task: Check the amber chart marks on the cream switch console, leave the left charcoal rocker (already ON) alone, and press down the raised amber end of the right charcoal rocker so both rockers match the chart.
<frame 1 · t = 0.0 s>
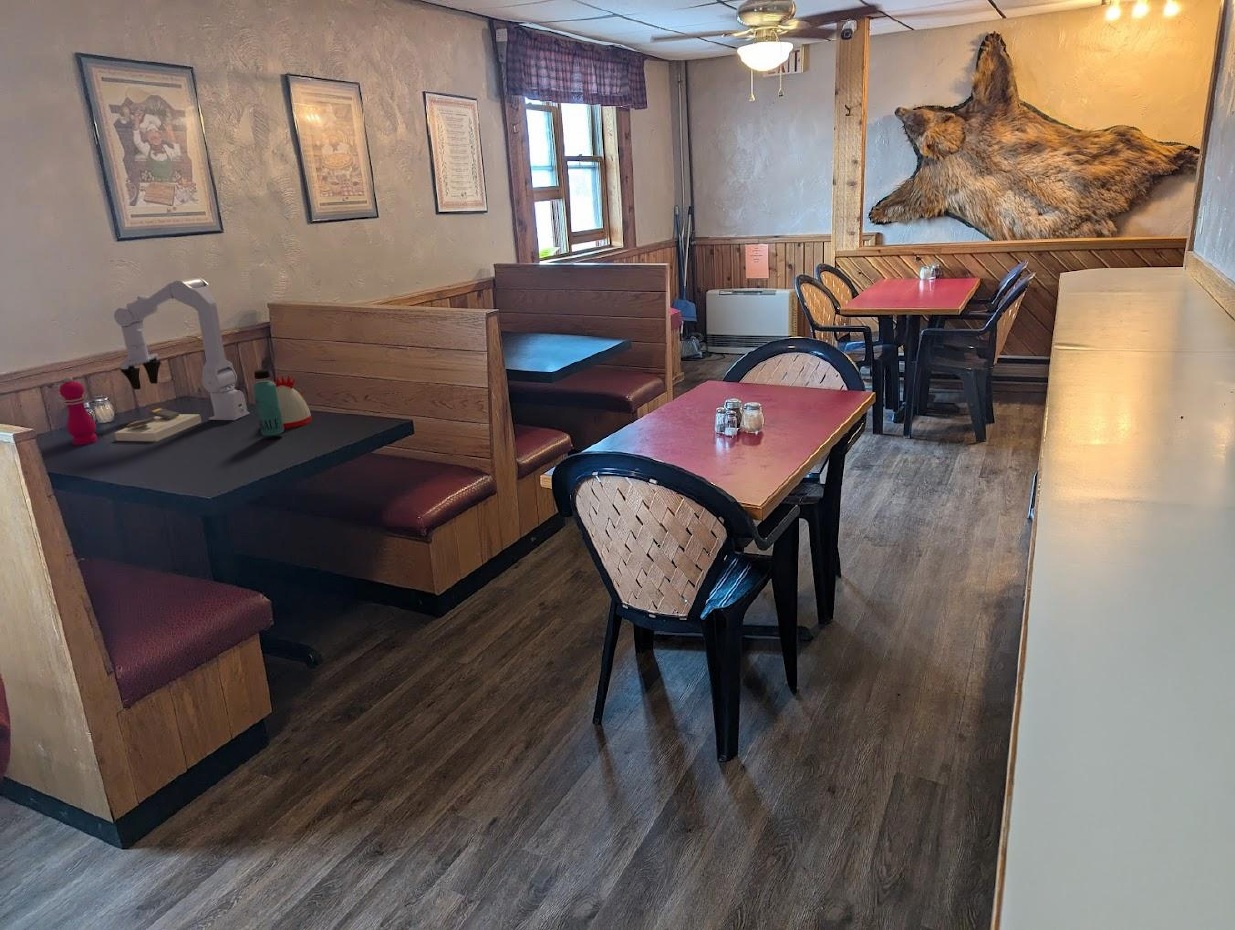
hand: (145, 386, 276), 10 cm above the table, fingers open, 7 cm apart
pepper mill: (85, 442, 254), on the table
beverage bottle: (274, 437, 249), on the table
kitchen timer: (288, 423, 264), on the table
rocker right: (164, 413, 265), point 4 cm above the table, hinge at -12.0°
switch console: (160, 431, 262), on the table
rocker left: (140, 422, 256), point 4 cm above the table, hinge at 12.0°
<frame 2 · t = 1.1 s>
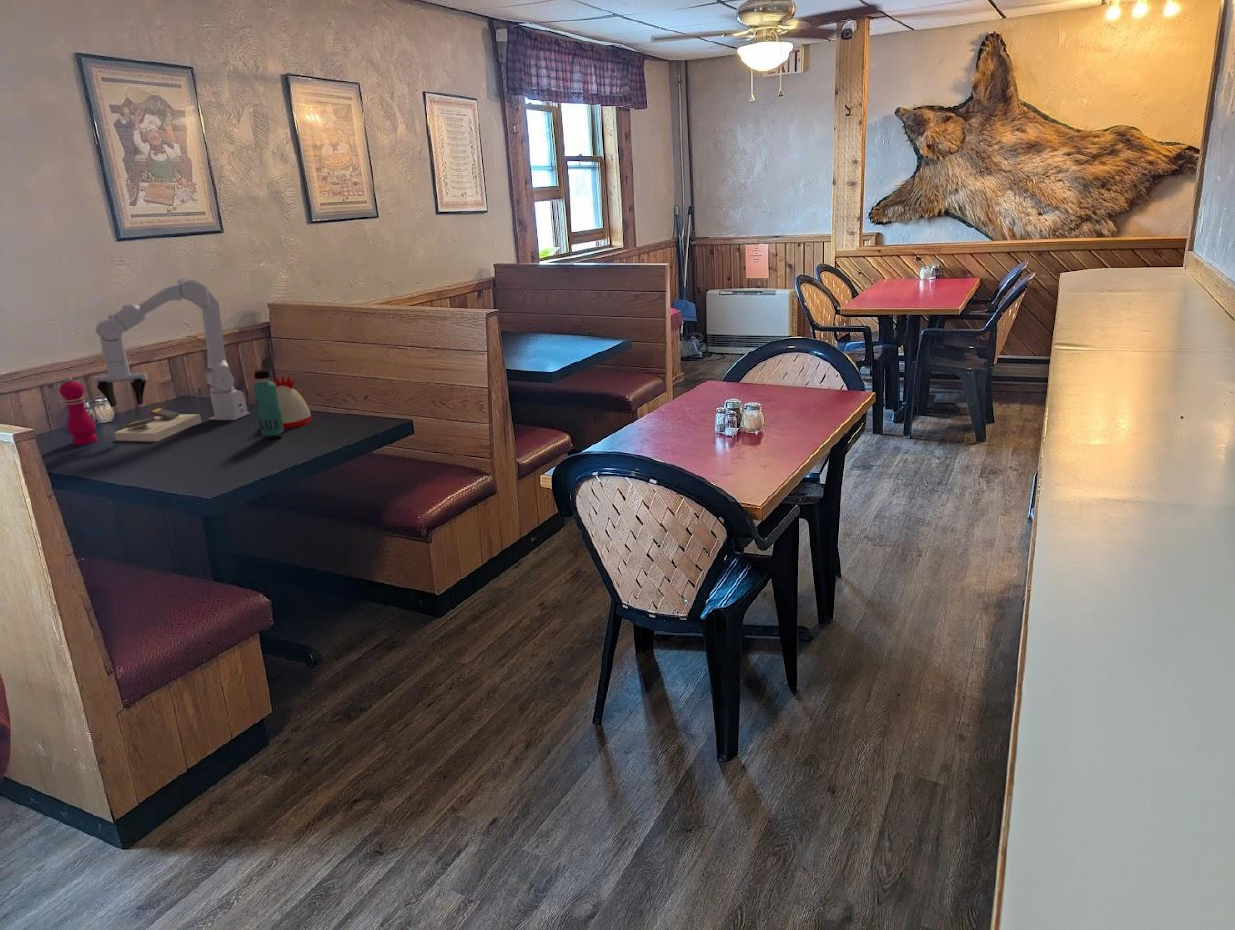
hand: (127, 405, 255), 9 cm above the table, fingers open, 7 cm apart
nothing on the table moved.
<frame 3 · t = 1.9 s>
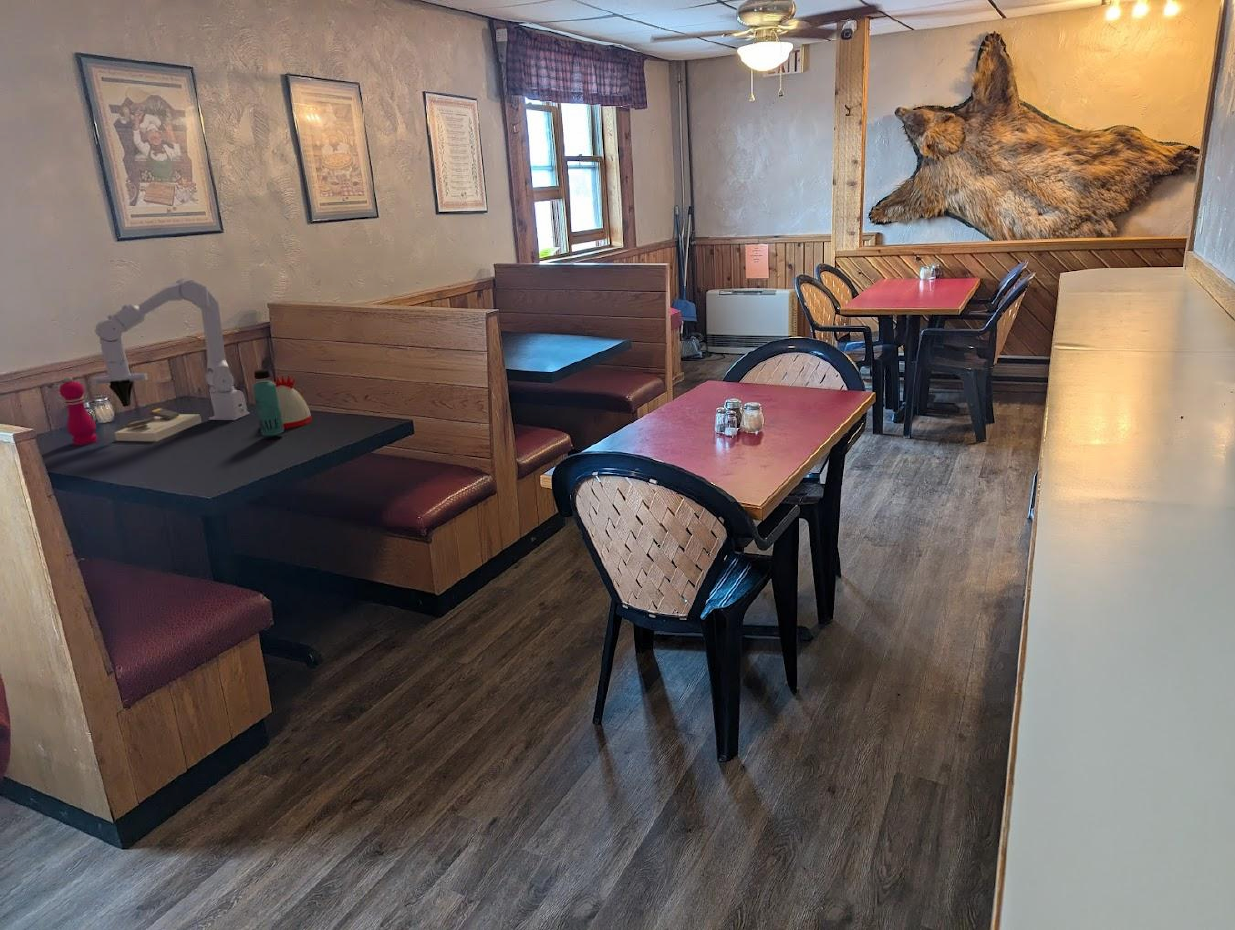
hand: (126, 405, 255), 9 cm above the table, fingers closed
nothing on the table moved.
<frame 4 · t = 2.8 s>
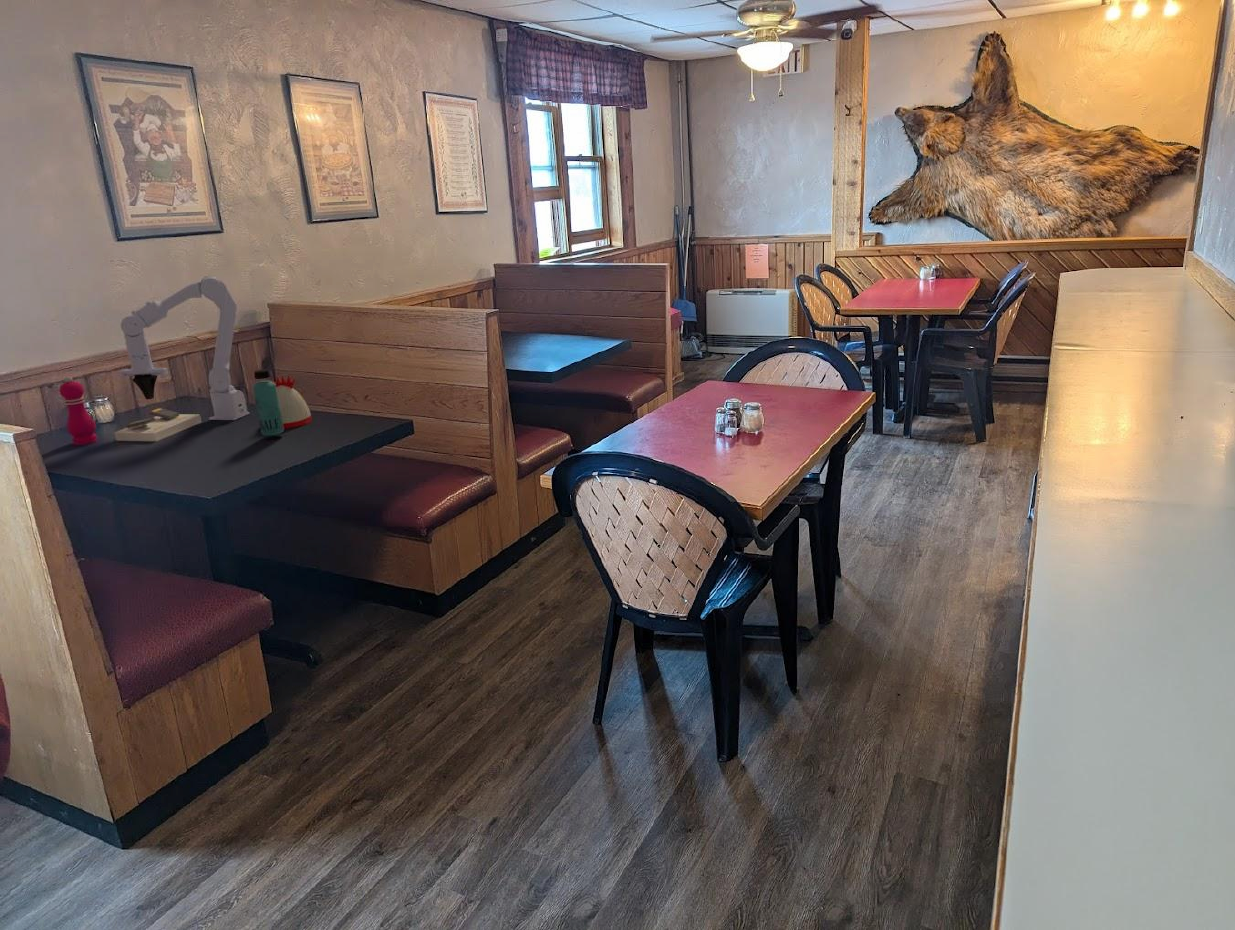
hand: (150, 398, 263), 9 cm above the table, fingers closed
nothing on the table moved.
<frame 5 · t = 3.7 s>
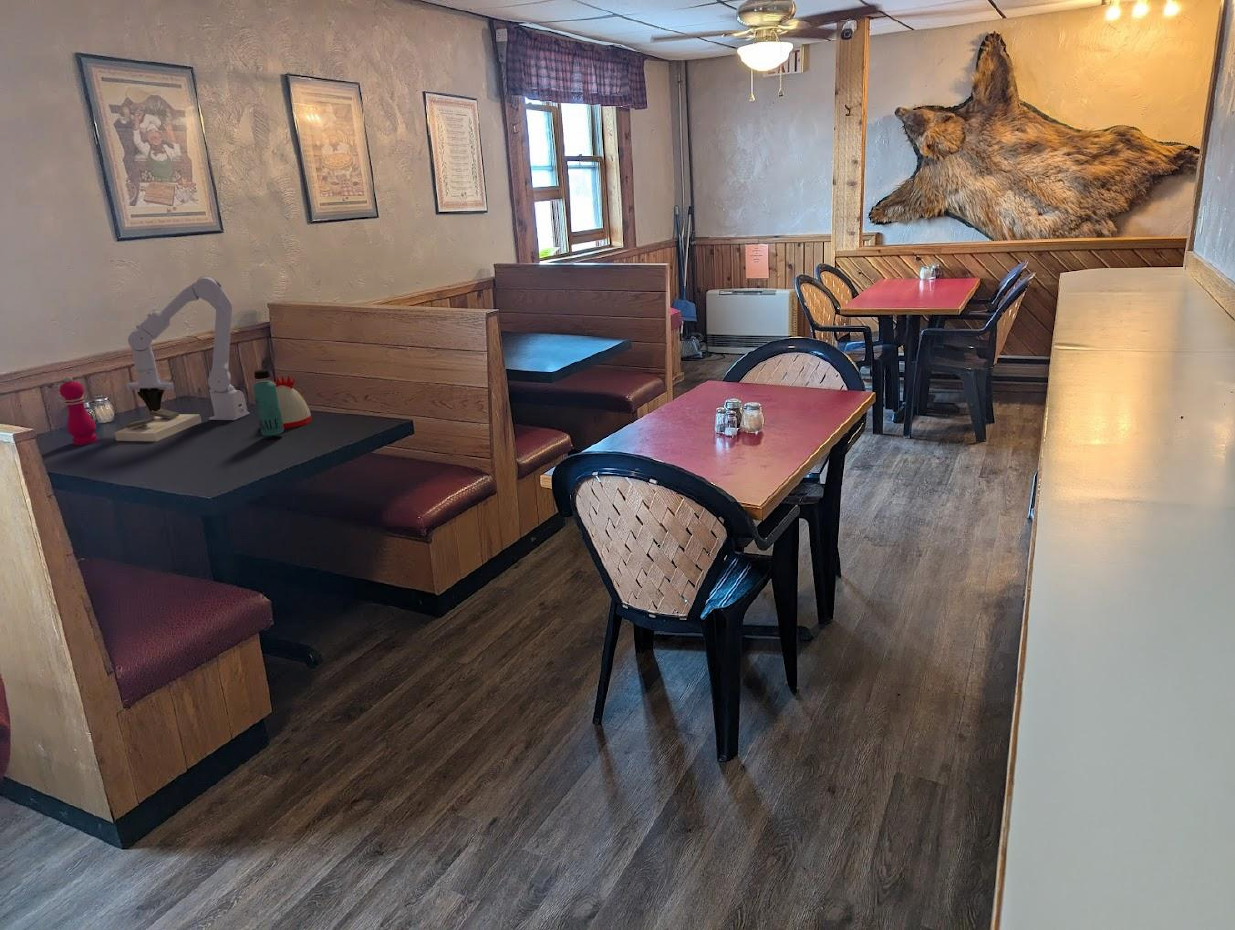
hand: (155, 412, 266), 5 cm above the table, fingers closed, pressing on rocker right
rocker right: (164, 413, 265), point 4 cm above the table, hinge at -11.7°, touching gripper
everything else where it was.
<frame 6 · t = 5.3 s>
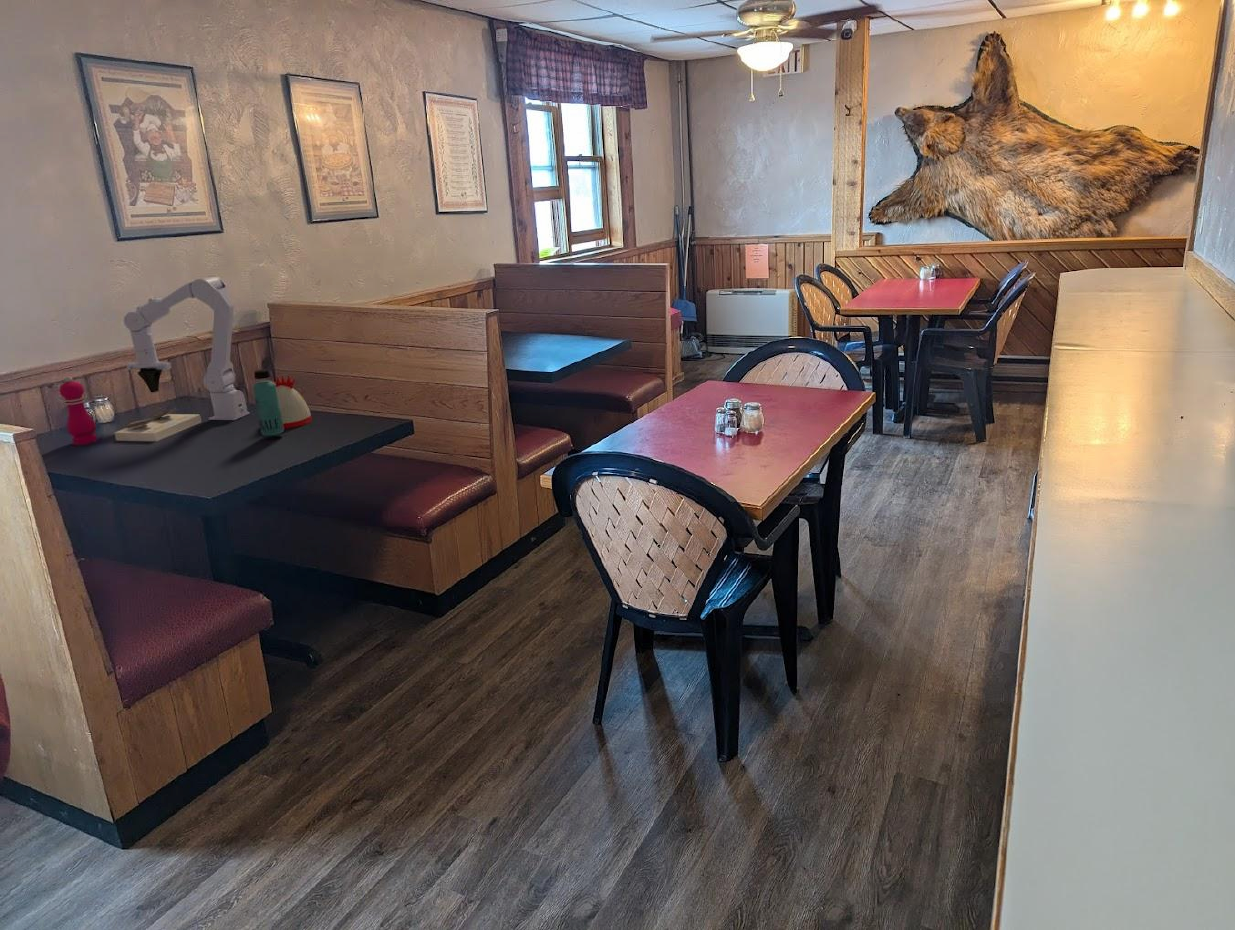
hand: (154, 391, 271), 9 cm above the table, fingers closed
rocker right: (164, 413, 265), point 4 cm above the table, hinge at 18.8°, touching switch console
everything else where it was.
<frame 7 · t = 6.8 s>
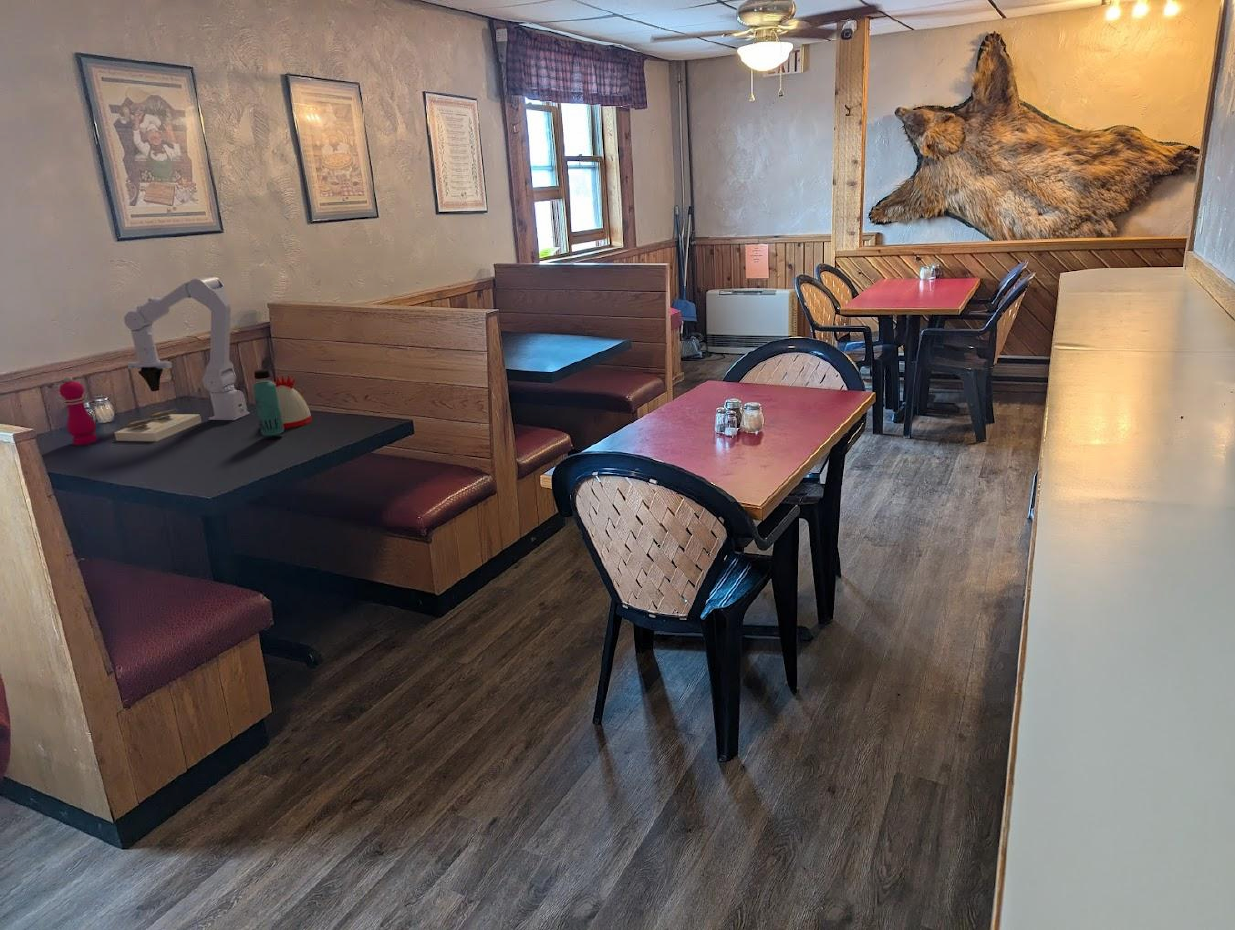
hand: (155, 390, 273), 9 cm above the table, fingers closed
rocker right: (164, 413, 265), point 4 cm above the table, hinge at 12.7°
everything else where it was.
at the end: rocker right at +12° (first picture: -12°); rocker left at +12° (first picture: +12°) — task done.
